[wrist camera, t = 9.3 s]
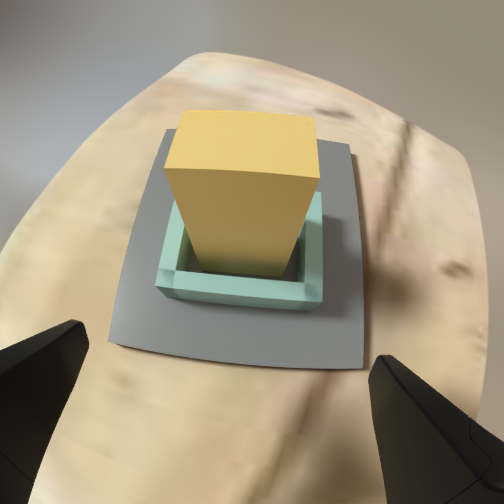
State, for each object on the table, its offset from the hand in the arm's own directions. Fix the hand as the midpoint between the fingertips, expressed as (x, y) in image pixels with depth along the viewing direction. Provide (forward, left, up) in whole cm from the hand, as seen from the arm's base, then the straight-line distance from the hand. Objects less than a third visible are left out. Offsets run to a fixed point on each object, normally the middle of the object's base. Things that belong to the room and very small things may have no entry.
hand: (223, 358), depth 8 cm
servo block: (+7, 0, -9) cm, 11 cm away
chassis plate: (+9, 0, -10) cm, 13 cm away
